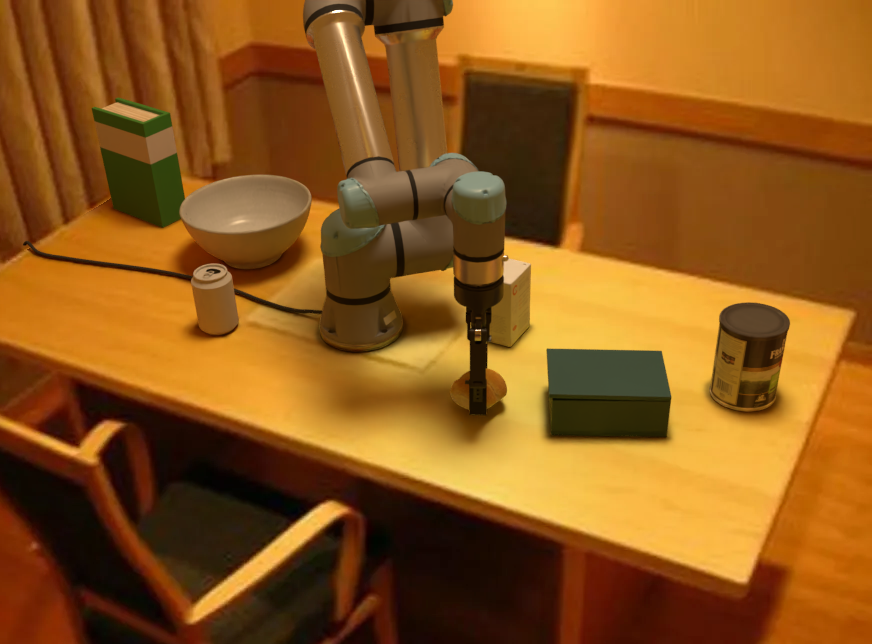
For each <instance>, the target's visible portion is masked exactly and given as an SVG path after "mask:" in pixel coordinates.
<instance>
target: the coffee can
mask: <svg viewBox="0 0 872 644" xmlns="http://www.w3.org/2000/svg"><path fill="white" fill-rule="evenodd" d="M718 323H719V325H718V329H717V330H718V331H717V338H716V344H715V351H714V358H713V359H714V360H713V364H712V374H711V380H710V385H709V394H710V397H711V398H712V399H713V400H714V401H715V402H717V404H719V405H720V406H723V407H724V408H727V409H731V410H733V411H739V412H758V411H763V410H765V409H767V408H770V407H771V406H772V405H773V404H774V403H775V402H776V398H777V389H778V385H779V381H780V375H781V369H782V364H783V358H784V352H785V348H786V342H787V336H788V331H789V330H790V326H791V320H790V317H788V315H787V314H786V313H785V312H783V311H782V310H781V309H779V308H777V307H775V306H772V305H769V304H765V303H762V302H761V303H760V302H737V303H733V304H730V305H728V306H726V307H724V308H723V309H722V310H721V311H720V312H719V315H718Z"/></svg>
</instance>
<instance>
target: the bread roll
mask: <svg viewBox="0 0 872 644" xmlns="http://www.w3.org/2000/svg"><path fill="white" fill-rule="evenodd" d="M469 379H470V370H468V371H466V372H464V373H463V374H462V375H461V376H460V377H458V379H455V380H454V381H453V382H452V384H451V385H450V386H451V387H450V389H449V395H450V398H451V399H452V401H453V403H455V404H456V405H457V406H459V407H461V408H463V409H465V410H468V411H469V384H465V380H469ZM486 379H487V409H490V408H491V407H493V406H494V405H495V404H497V403H498V402H500V401H502V400H503V399H504V398H505V397H506V395H507V392H508V386H507V383H506V381H505V378H503V377H502V375H501V374H500V373H499V372H497V371H496V370H494V369H492V368H488V367H487V368H486Z"/></svg>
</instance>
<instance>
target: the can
mask: <svg viewBox="0 0 872 644" xmlns="http://www.w3.org/2000/svg"><path fill="white" fill-rule="evenodd" d="M192 276H193V278H192V279H190V284H191V290H192V295H193V301H194V302H193V303H194V307H195V312H196V318H197V323H198V327H199V329H200V330H201V331H203V332H204V333H206V334H208V335H210V336H221V335H226V334H228V333H230V332H232V331H234V329H235V328H236V327H237V325H238V324H239V320H240V318H239V313H238V306H237V300H236V293H235V292H234V288H235V285H234V280H233V275H232V274H231V272H230V271H228V268H227V266H225V265H224V264H222V263H221V264H220V263H216V262H215V263H214V262H213V263H205V264H203V265H200V266H198V267H197V268H195V269H194V271H193V273H192Z"/></svg>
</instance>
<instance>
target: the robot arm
mask: <svg viewBox="0 0 872 644" xmlns="http://www.w3.org/2000/svg"><path fill="white" fill-rule="evenodd" d="M453 1H454V0H304V3H303V9H302V21H303V23H302V24H303V30H304V34H305V39H306V42H307V44H308V45H309V46H310V47H311V48H312V49H314V50H315V52H316V57H317V60H318V65H319V69H320V73H321V77H322V81H323V82H322V83H323V86H324V90H325V95H326V97H327V102H328V106H329V110H330V111H329V112H330V115H331V119H332V123H333V127H334V131H335V136H336V139H337V143H338V148H339V151H340V156H341V160H342V164H343V168H344V172H345V176H346V179H343V180H341V181H339V182H338V184H337V186H336V187H337V188H336V189H337V190H336V192H337V203H338V208H337V209H335V210H334V211H331V213H329V214H328V216H326V217H325V218H324V220H323V222H322V224H321V225H320V245H319V246H320V247H319V248H320V251H321V254H322V263H323V273H324V274H323V275H324V285H325V294H326V295H325V299H324V303H323V306H322V310H321V309H312V308H311V309H310V308H309V309H308V308H294V307H290V306H285V305H281V304H278V303H275V302H272V301H269V300H266V299H263V298H261V297H258V296H255V295H253V294H250V293H248V292H245V291H243V290H240V289H237V288H235V287H234V293H235V294H238V295H240V296H243V297H246V298H248V299H250V300H252V301H255V302H258V303H261V304H264V305H267V306H269V307H272V308H276V309H278V310H282V311H286V312H290V313H296V314H312V315H313V314H314V315H320V318H319V325H318V326H319V334H320V337H321V339H322V340H323V342H324V343H326V344H327V345H329V346H330V347H332V348H334V349H337V350H339V351H340V350H341V351H344V352H345V351H346V352H353V353H354V352H359V353H360V352H368V351H374V350H378V349H381V348H384V347H386V346H389V345H391V344H392V343H393V342H395V341H396V340H398V338H399V337H400V336H401V335H402V333H403V330H404V318H403V316H402V312H401V309H400V307H399V305H398V302H397V300H396V298H395V296H394V293H393V291H392V287H391V279H394V278H400V277H406V276H413V275H418V274H424V273H431V272H436V271H441V272H444V271H447V270H448V269H452V273H453V297H454V300H455V301H456V303H458V304H459V305H460V306H462V307H465V324H466V338H467V341H469V371H470V379H469V380H465V384H469V410H468V413H469V414H468V415H469V416H487V409H488V408H487V379H486V368H487V369H488V362H489V361H488V357H489V355H488V354H489V352H488V347H489V346H488V345H489V344H488V343H492V342H491V335H490V323H491V316H492V307H493V306H495V305H497V304H498V303H499V302H500V301H501V300H502V299H503V296H504V276H503V273H504V262H506V261H508V258H509V255H508V254H505V243H506V242H505V241H506V239H505V237H506V210H507V203H508V202H507V198H506V187H505V183H504V181H503V179H502V178H501V177H500V176H498V175H493V173H491V172H488V171H480V170H479V168H478V167H477V166H476V165H475V164H474V163H473V162H472V161H471V160H469V159H468V158H467V157H466V156H465V155H463V154H460V153H457V152H448V145H447V144H448V143H447V134H446V126H445V125H446V123H445V114H444V104H443V94H442V83H441V73H440V64H439V55H438V53H439V52H438V43H437V39H438V36H439V35H440V34H441V32H442V31H443V29H444V28H445V22H444V21H445V20H444V17H448V16H449V15H450V14H451V13H452V11H453V8H454V2H453ZM369 26H373V30H374V31H373V32H374V37H375V38H376V39H377V40H378V41H380V42H381V43H382V44H383V45H384V48H385V56H386V65H387V73H388V82H389V83H388V84H389V91H390V101H391V107H392V109H391V110H392V117H393V126H394V135H395V144H396V152H397V160H398V171H397V169H396V165H395V161H394V156H393V152H392V148H391V145H390V141H389V138H388V133H387V130H386V126H385V123H384V118H383V115H382V111H381V107H380V103H379V100H378V99H379V98H378V96H377V92H376V88H375V84H374V80H373V76H372V73H371V68H370V65H369V61H368V57H367V54H366V49H365V46H364V40H363V38H362V37H363V35H364V33H365V31H366V27H369ZM27 245H28V247H29V248H30V249H31V250H32V251H33V252H34V253H35V254H37V255H39V256H42V257H45V258H50V259H56V260H63V261H69V262H74V263H75V262H76V263H83V264H91V265H96V266H97V265H98V266H104V267H113V268H122V269H127V270H135V271H143V272H150V273H156V274H161V275H162V274H163V275H168V276H173V277H178V278H182V279H187V280H191V279H192V278H193V275H189V274H185V273H182V272H181V273H180V272H175V271H172V270H171V271H170V270H166V269H165V270H164V269H160V268H159V269H158V268H152V267H146V266H141V265H140V266H138V265H132V264H124V263H117V262H110V261H109V262H108V261H100V260H94V259H93V260H92V259H86V258H80V257H79V258H78V257H72V256H65V255H59V254H52V253H47V252H43V251H40V250H39V249H37V248H36V247H35V246H34V245H33V243H32V242H30V241H29V240H25V241H24V242H23V243H22V246H24V247H25V246H27Z"/></svg>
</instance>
